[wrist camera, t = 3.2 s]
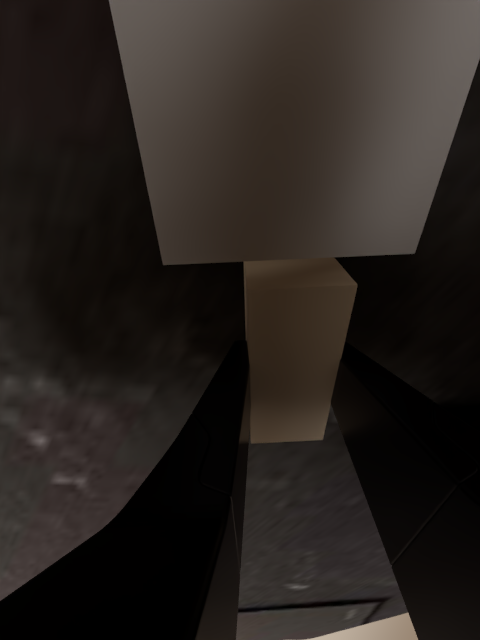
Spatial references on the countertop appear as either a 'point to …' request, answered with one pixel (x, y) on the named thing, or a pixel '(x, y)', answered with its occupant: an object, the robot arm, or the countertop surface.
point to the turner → (294, 159)
